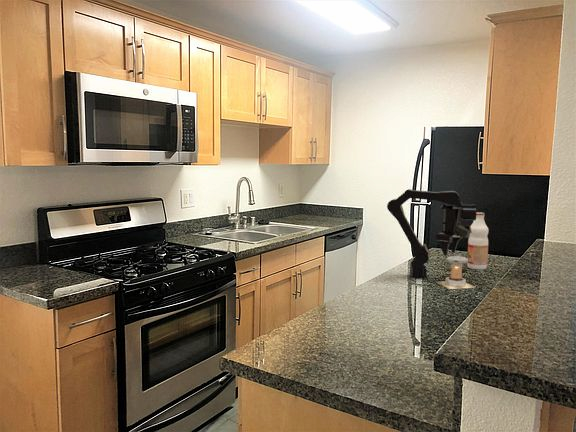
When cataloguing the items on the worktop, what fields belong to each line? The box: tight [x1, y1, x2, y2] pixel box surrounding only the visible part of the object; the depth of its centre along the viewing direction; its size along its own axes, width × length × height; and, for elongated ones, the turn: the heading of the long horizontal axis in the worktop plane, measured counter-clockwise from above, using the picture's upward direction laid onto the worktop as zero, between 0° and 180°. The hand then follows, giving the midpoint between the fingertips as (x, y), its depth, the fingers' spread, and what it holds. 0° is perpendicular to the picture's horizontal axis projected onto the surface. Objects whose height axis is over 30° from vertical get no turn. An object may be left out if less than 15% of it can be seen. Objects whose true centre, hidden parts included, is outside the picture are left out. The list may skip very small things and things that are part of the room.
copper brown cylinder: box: [449, 264, 463, 281], centre depth 197 cm, size 4×4×8 cm
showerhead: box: [447, 254, 468, 268], centre depth 227 cm, size 9×7×10 cm
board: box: [436, 280, 477, 290], centre depth 198 cm, size 12×12×1 cm
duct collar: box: [445, 276, 467, 287], centre depth 198 cm, size 8×8×2 cm
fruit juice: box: [466, 211, 490, 270], centre depth 232 cm, size 9×9×28 cm
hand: (449, 254), depth 206 cm, fingers open, 9 cm apart
